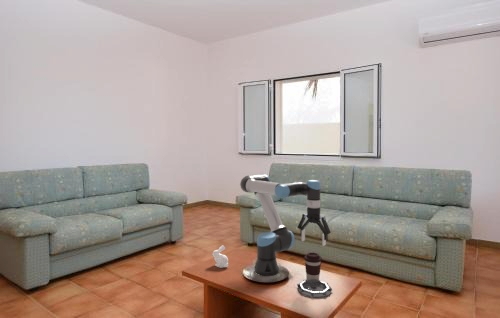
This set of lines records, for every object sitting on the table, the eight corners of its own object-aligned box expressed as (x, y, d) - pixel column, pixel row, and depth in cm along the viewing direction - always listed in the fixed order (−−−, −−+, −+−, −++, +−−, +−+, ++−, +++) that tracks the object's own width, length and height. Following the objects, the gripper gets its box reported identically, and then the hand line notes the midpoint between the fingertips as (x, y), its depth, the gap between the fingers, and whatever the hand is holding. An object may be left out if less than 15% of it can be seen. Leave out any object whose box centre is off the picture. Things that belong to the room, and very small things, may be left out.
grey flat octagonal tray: (291, 290, 174) (291, 286, 174) (308, 279, 188) (308, 276, 187) (321, 301, 162) (321, 297, 162) (336, 288, 176) (337, 284, 176)
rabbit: (210, 265, 210) (210, 247, 209) (221, 261, 217) (221, 243, 216) (223, 270, 202) (223, 251, 201) (234, 265, 209) (234, 247, 208)
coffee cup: (321, 283, 182) (321, 258, 181) (303, 282, 184) (304, 256, 183) (321, 276, 192) (321, 252, 191) (304, 275, 194) (304, 250, 193)
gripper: (291, 205, 190) (291, 240, 192) (330, 210, 174) (330, 249, 175) (298, 203, 196) (298, 237, 197) (336, 208, 180) (336, 245, 181)
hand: (313, 243), depth 186 cm, fingers open, 13 cm apart
